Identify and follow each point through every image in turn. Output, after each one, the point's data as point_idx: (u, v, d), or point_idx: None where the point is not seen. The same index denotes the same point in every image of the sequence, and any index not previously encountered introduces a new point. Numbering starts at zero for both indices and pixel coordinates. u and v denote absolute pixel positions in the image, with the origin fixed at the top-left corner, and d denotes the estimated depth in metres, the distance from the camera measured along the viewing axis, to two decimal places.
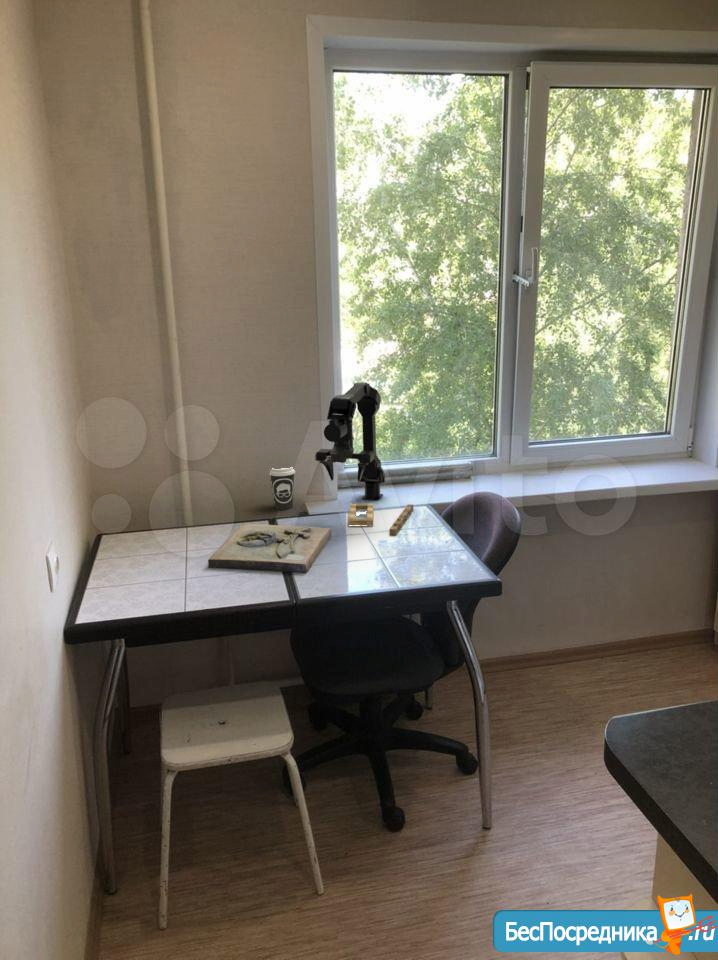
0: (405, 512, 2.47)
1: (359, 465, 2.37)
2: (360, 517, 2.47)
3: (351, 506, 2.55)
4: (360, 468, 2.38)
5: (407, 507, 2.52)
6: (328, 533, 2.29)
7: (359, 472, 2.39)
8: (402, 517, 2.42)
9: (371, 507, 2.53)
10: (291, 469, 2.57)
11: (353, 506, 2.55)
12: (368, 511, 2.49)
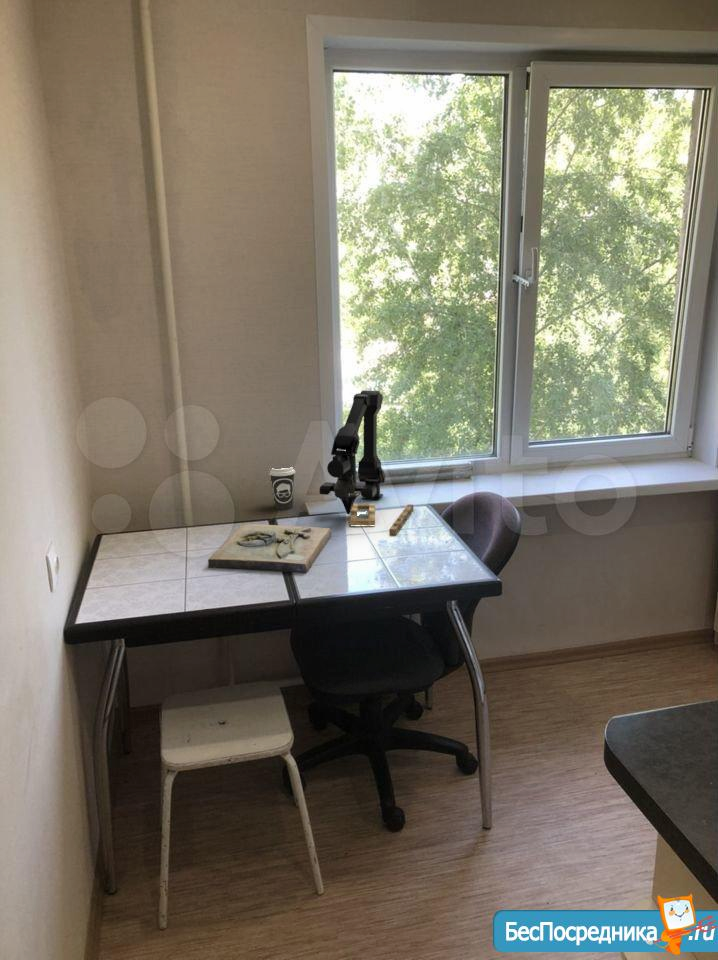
0: (405, 512, 2.47)
1: (349, 498, 2.46)
2: (362, 517, 2.47)
3: (353, 506, 2.55)
4: (350, 501, 2.47)
5: (407, 507, 2.52)
6: (328, 533, 2.29)
7: (349, 505, 2.48)
8: (402, 517, 2.42)
9: (372, 507, 2.53)
10: (291, 469, 2.57)
11: (354, 506, 2.55)
12: (369, 511, 2.49)
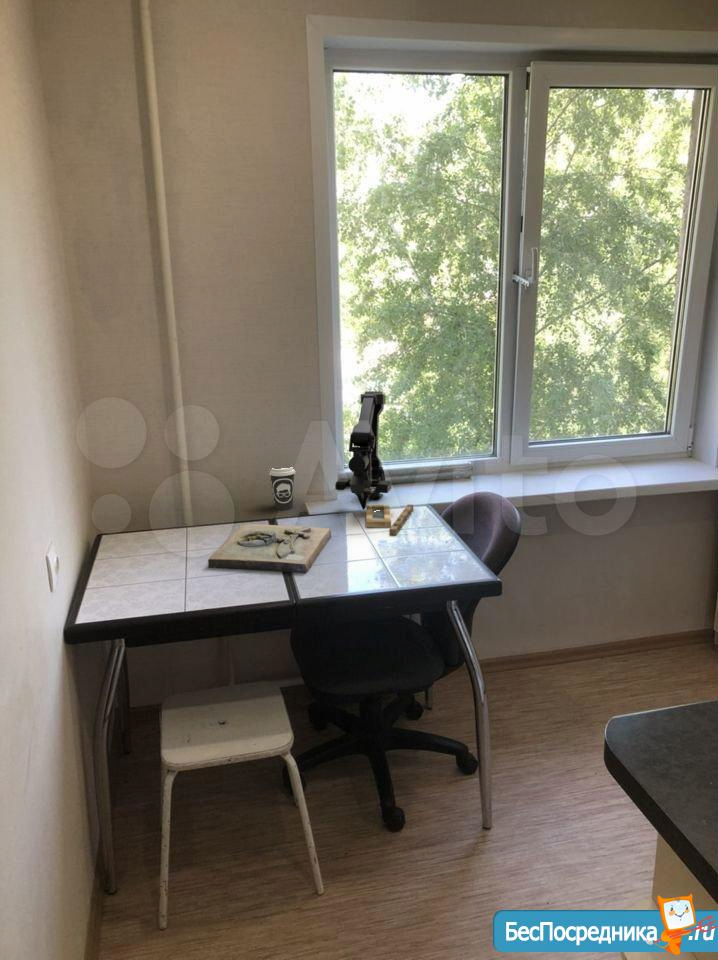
0: (405, 512, 2.47)
1: (364, 494, 2.50)
2: (377, 518, 2.45)
3: (367, 507, 2.53)
4: (365, 496, 2.52)
5: (407, 507, 2.52)
6: (328, 533, 2.29)
7: (364, 500, 2.52)
8: (402, 517, 2.42)
9: (387, 508, 2.52)
10: (291, 469, 2.57)
11: (369, 507, 2.54)
12: (385, 512, 2.47)
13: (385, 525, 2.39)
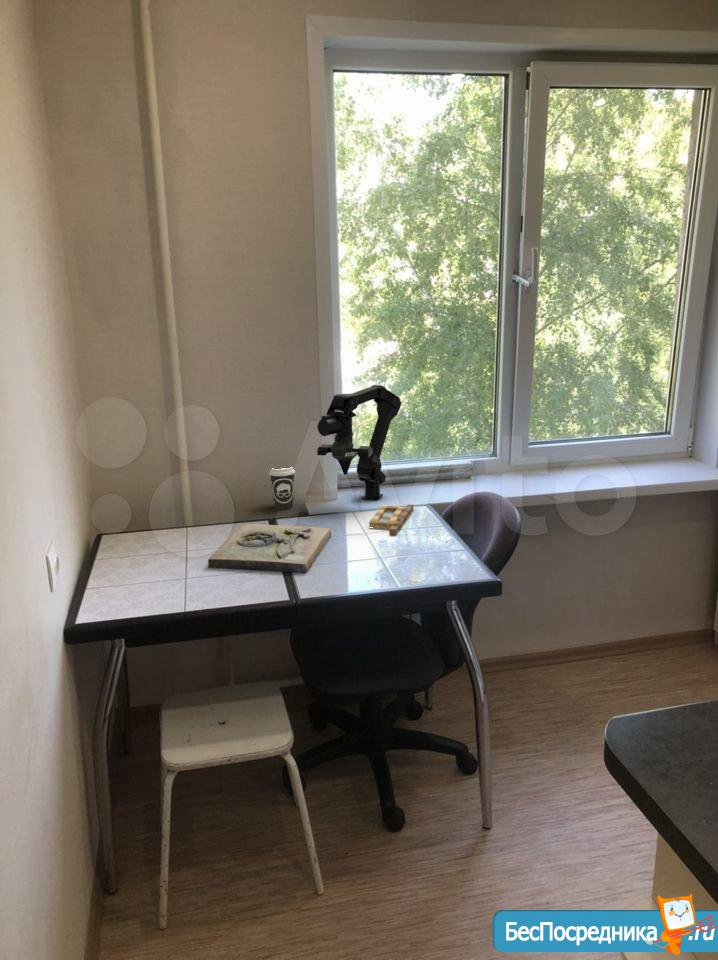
0: (405, 512, 2.47)
1: (346, 459, 2.53)
2: (385, 519, 2.44)
3: (380, 508, 2.52)
4: (347, 462, 2.54)
5: (407, 507, 2.52)
6: (328, 533, 2.29)
7: (346, 465, 2.55)
8: (402, 517, 2.42)
9: (399, 510, 2.49)
10: (291, 469, 2.57)
11: (382, 507, 2.53)
12: (393, 514, 2.45)
13: (387, 527, 2.37)
